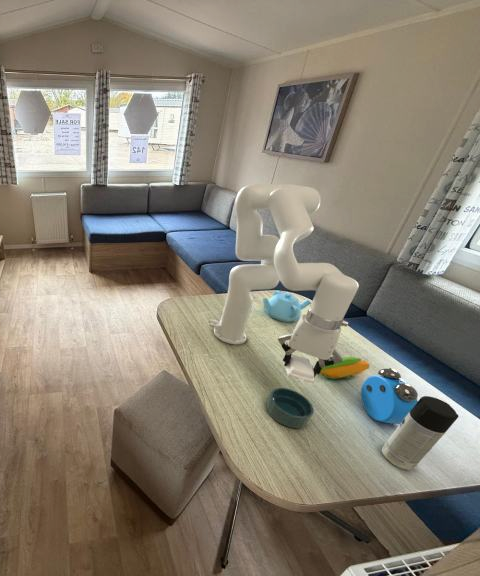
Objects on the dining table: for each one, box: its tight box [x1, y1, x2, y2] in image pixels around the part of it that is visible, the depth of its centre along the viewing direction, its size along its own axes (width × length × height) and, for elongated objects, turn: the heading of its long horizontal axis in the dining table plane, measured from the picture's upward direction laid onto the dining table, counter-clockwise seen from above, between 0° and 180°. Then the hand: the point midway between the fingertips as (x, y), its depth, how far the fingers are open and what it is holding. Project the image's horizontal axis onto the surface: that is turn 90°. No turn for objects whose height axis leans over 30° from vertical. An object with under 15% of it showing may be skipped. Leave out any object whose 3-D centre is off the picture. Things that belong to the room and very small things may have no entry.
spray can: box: [381, 395, 459, 471], centre depth 77 cm, size 7×7×20 cm
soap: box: [285, 353, 315, 384], centre depth 90 cm, size 9×7×3 cm
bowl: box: [265, 387, 315, 429], centre depth 92 cm, size 11×11×5 cm
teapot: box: [262, 290, 312, 323], centre depth 140 cm, size 15×17×11 cm
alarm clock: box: [360, 367, 419, 426], centre depth 90 cm, size 13×6×15 cm, turn 171°
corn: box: [320, 356, 370, 380], centre depth 107 cm, size 7×8×20 cm
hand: (299, 368), depth 91 cm, fingers closed on soap, 6 cm apart
